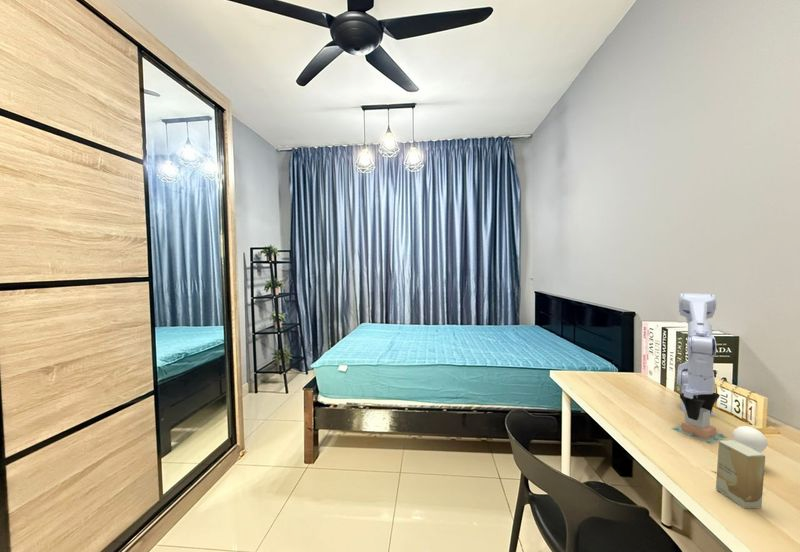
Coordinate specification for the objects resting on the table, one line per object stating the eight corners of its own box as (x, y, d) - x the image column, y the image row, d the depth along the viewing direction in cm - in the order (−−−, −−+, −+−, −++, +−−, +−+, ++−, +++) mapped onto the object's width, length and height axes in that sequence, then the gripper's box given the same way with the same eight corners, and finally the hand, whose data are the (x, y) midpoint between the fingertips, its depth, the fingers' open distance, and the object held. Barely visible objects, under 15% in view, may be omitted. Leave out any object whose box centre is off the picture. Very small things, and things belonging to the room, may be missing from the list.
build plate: (687, 424, 106) (687, 420, 106) (727, 439, 97) (727, 435, 97) (671, 431, 102) (671, 427, 102) (711, 447, 93) (711, 442, 93)
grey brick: (692, 419, 103) (692, 404, 103) (709, 426, 99) (710, 410, 99) (684, 422, 101) (685, 407, 101) (702, 428, 97) (702, 413, 97)
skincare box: (714, 489, 75) (716, 439, 75) (731, 488, 76) (732, 438, 75) (746, 510, 69) (748, 455, 68) (764, 509, 69) (766, 454, 69)
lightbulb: (773, 477, 80) (775, 434, 79) (744, 474, 81) (746, 432, 81) (752, 462, 86) (753, 423, 85) (725, 459, 87) (726, 420, 87)
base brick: (691, 426, 104) (691, 418, 104) (715, 435, 98) (715, 427, 98) (681, 430, 101) (682, 422, 101) (706, 439, 96) (706, 431, 96)
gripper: (696, 367, 106) (694, 407, 106) (672, 373, 100) (671, 415, 100) (724, 374, 99) (722, 416, 100) (701, 380, 93) (699, 425, 94)
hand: (699, 416), depth 100 cm, fingers open, 7 cm apart
